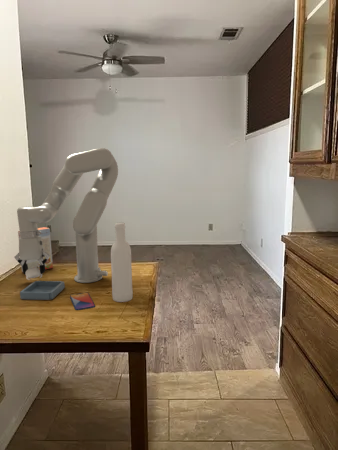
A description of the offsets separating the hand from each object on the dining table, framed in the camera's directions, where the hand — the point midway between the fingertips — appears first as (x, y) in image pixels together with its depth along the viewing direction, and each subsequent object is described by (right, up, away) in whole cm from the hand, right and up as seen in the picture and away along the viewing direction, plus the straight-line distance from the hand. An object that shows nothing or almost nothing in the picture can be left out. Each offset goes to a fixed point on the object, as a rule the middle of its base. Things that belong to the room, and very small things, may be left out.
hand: (34, 272), depth 159 cm
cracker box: (-6, -1, +19) cm, 20 cm away
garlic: (0, -2, -1) cm, 2 cm away
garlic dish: (+9, -7, -13) cm, 17 cm away
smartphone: (+27, -9, -23) cm, 36 cm away
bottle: (+42, -8, -20) cm, 47 cm away
